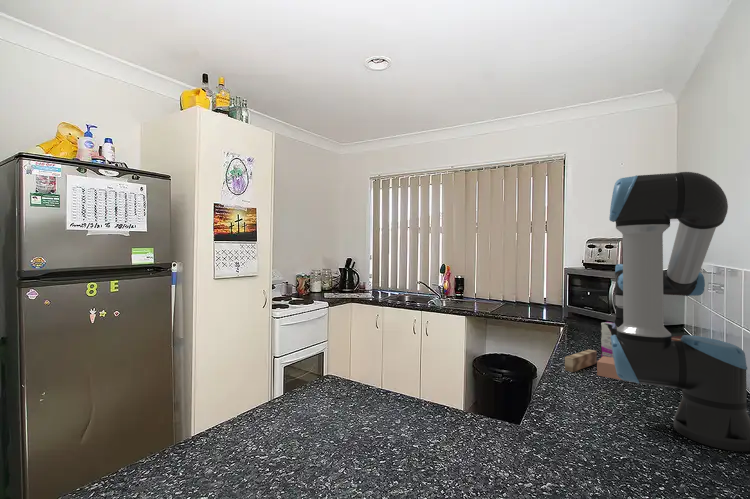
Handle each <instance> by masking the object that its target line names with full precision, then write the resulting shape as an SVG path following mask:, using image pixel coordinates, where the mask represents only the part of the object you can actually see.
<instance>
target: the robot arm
mask: <svg viewBox="0 0 750 499" xmlns="http://www.w3.org/2000/svg"><path fill="white" fill-rule="evenodd" d="M728 202H729V201H728V198H727V196H726V194H725V191H724V190H723V189H722V187H721V186H720V184H718V183H717V182H716V181H715V180H714V179H711V178H710V177H708V176H707V175H704V174H702V173H699V172H695V171H694V172H693V171H680V172H670V173H657V174H656V173H654V174H642V175H641V174H640V175H638V174H637V175H633V176H627V177H620V178H619V179H617V180H616V181H615V183H614V186H613V190H612V195H611V200H610V209H609V217H608V218H609V221H610V222H611V223H612V222H613V223H614V222H615V229H616V230H617V231H619V232H620V233H621V234H622V263H617V264H616V265H615V267H614V268H615V269H614V270H615V271H614V280H615V281H614V282H615V283H614V284H615V285H614V286H615V287H614V288H615V295H614V296H615V304H614V306H616V307H615V319H614V322H611V323H612V324H609V325H608V328H609V329H610V331H611V335H612V336H611V345H612V352H613V358H614V363H615V368H616V373H617V375H618V377H619V378H620V379H622V380H621V381H625V382H632V383H636V384H638V385H640V384H645V385H652V386H659V387H667V388H671V389H673V388H675V389H679V390H681V392H682V394H681V396H682V397H681V400H680V402H679V405H678V407H677V408H676V412H675V413H674V415H673V428H674V430H675V431H676V432H677V433H678V434H680V435H682V436H683V437H685V438H688V439H689V440H691V441H694V442H696V443H699V444H702V445H705V446H707V447H711V448H714V449H715V448H716V449H720V450H726V451H731V452H750V416H749V415H750V414H749V413H748V410H747V404H748V403H747V402H748V401H747V370H748V366H747V360H746V359H747V358H746V353H745V351H744V350H743V349H742V348H740V347H739V346H737V345H736V344H733V343H731V342H726V341H723V340H718V339H714V338H709V337H705V336H700V335H693V334H691V335H690V334H684V335H683V334H682V335H683V336H682V338H681V341H673V340H671V337H672V333H671V332H670V331H669V330H668V329H667V328H666V327H665V326H664V322H665V319H664V318H665V317H664V295H665V296H682V297H683V296H684V297H691V296H692V297H693V296H698V297H699V296H702V295H703V294H704V292H705V286H706V283H705V277H704V274H703V273H702V272H701V269H702V266H703V264H704V261H705V259H706V256H707V253H708V251H709V247H710V245H711V242H712V239H713V237H714V235H715V231H716V229H717V228H718V227H720V226H721V225H722V224H723V223H724V221H725V220H726V217H727V214H728V209H729V206H728V205H729V204H728ZM671 220H677V221H678V222H679V223H678V227H677V231H676V236H675V239H674V242H673V246H672V249H671V253H670V258H669V260H668V261H669V262H668V264H667V265H668V266H667V270H664V255H663V254H664V249H663V248H664V244H663V242H664V240H663V239H664V238H663V236H664V232H666V231H667V230H668V229H669V228H670V227H671ZM616 326H617V327H618V328H617V327H616ZM616 328H617V329H616Z"/></svg>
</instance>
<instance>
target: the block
mask: <svg viewBox="0 0 750 499" xmlns="http://www.w3.org/2000/svg"><path fill="white" fill-rule="evenodd" d="M596 376H599V377H604V378H609V379H610V378H611V379H615V380H621V381H623V380H622V379H620V378H619V377H618V375H617V373H616V368H615V363H614V358H612V357H606V356H603V357H602V358H601V357H600V358H599V359H597V363H596Z"/></svg>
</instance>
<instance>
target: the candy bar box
mask: <svg viewBox="0 0 750 499" xmlns="http://www.w3.org/2000/svg"><path fill="white" fill-rule="evenodd" d="M612 323H613V322H610V321H605V322H601V323H600V346H601V348H600V352H601V354H600V358H602V357H603V356H606V357H612V358H613V352H612V345H611V336H612V335H611V331H610V329H609V328H608V325H609V324H612ZM616 327H617V326H616ZM617 328H618V327H617ZM617 328H616V329H617Z"/></svg>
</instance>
